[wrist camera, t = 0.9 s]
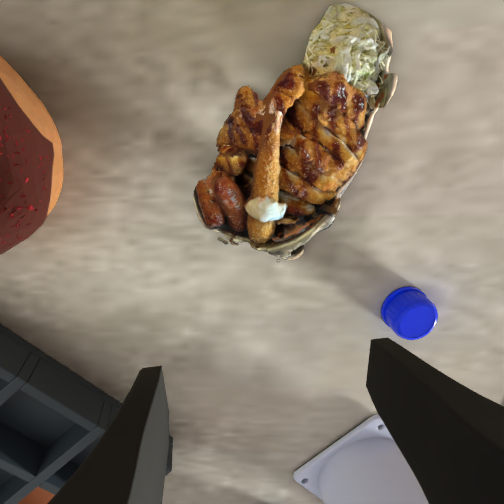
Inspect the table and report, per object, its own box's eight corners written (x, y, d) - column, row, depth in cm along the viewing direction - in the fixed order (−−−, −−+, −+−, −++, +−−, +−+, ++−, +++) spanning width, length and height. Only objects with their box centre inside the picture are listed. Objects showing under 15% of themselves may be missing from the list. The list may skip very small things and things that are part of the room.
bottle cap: (371, 315, 25) (383, 330, 23) (403, 278, 24) (418, 292, 22) (403, 334, 26) (417, 350, 24) (434, 299, 25) (451, 314, 23)
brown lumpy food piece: (415, 50, 19) (463, 44, 15) (296, 262, 22) (316, 293, 19) (289, -33, 17) (314, -62, 13) (180, 215, 20) (179, 241, 17)
